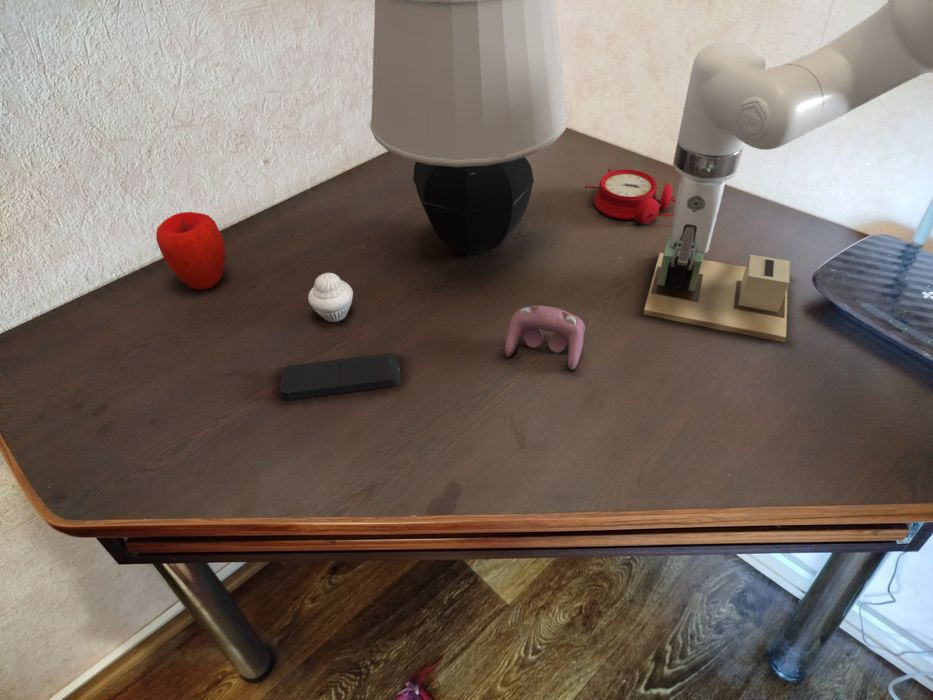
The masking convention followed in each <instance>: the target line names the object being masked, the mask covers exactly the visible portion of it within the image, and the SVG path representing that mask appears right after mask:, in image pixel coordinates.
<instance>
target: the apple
mask: <svg viewBox="0 0 933 700" xmlns="http://www.w3.org/2000/svg"><path fill="white" fill-rule="evenodd" d="M155 233H156V234H155V239H156V242H157V246H158V248H159V251H160V253H161V255H162V257H163V260H164V261H165V263H166V265H167V266H168V267H169V268H170V270H171V271H172V272H173V274H174V275H175V276H176V277H177V278H178V279H180V280H181V282H183V283H184V284H186V285H187V286H188V287H190V288H192V289H195V290H207V289H210V288H212V287H214V286H215V285H217V284H218V283H219V281H221V279H222V275H223V271H224V267H225V261H226V247H225V243H224V238H223V236H222V233H221V231H220V229H219V227H218V225H217V223H216V221H215V220H214V219H213V218H212V217H211V216H210V215H209V214H205V213H201V212H194V211H184V212H182V211H181V212H179V213H175V214H173V215H171V216H170V217H167V218H166V219H165V220H163V222H161V223H160V225H159V226H158V227H156V232H155Z"/></svg>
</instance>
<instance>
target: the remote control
mask: <svg viewBox="0 0 933 700" xmlns="http://www.w3.org/2000/svg"><path fill="white" fill-rule="evenodd" d="M400 366H401V365H400V362H399V359H398V357H397V354H395V353H394V352H387V353H379V354H370V355H364V356H356V357H348V358H347V357H346V358H340V359H332V360H331V359H330V360H324V361H317V362H316V361H315V362H308V363H301V364H292V365H288V366H285V367H284V368H283V369H282V371H281V379H280V387H279V388H280V397H281V399H282V400H284V401H293V400H299V399H300V400H302V399H307V398H315V397H323V396H331V395H332V396H333V395H339V394H346V393H354V392H355V393H356V392H361V391H362V392H363V391H368V390H376V389H384V388H385V389H386V388H392V387H395V386H398V385H400V383H401V380H402V379H401V369H400Z"/></svg>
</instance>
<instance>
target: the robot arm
mask: <svg viewBox="0 0 933 700" xmlns="http://www.w3.org/2000/svg"><path fill="white" fill-rule="evenodd" d="M929 73H931V74H933V0H887V2H885V3H884V4H883V5H882V6H881V7H880V8H878V9H877V10H876V11H875V12H874V13H872V14H871V15H870V16H868V17H866V18H865V19H864V20H862V21H861V22H859V23H857V24H856V25H855V26H853V27H851V28H850V29H849V30H847V31H845V32H844V33H842V34H840V35H839V36H837V37H836V38H834V39H833V40H830V41H829V42H828V43H826V44H825V45H822V46H821V47H819V48H818V49H816V50H814V51H812V52H810V53H808V54H805V55H802V56H801V57H797V58H795V59H794V60H791V61H788V62H786V63H783V64H782V65H779V66H775V67H774V66H773V67H768V68H766V59H765V56H764V54H763V53H762V51H760V50H759V49H758V48H756V47H754V46H751V45H749V44H745V43H740V42H733V41H732V42H717V43H711V44H708V45H706V46H705V47H703V48H701V49H700V50H699V51H698V52H697V54H696V55H695V57H694V60H693V64H692V67H691V72H690V76H689V81H688V86H687V91H686V97H685V101H684V106H683V111H682V117H681V121H680V126H679V132H678V137H677V142H676V147H675V152H674V157H673V162H672V167H673V170H675V172H676V173H677V174H679V175H680V177H679V183H678V188H677V192H676V197H675V201H676V202H674V208H673V213H674V215H672V224H671V232H670V235H671V239H670V246H671V247H672V248H673V249H674V252H673V257H672V261H671V262H669V266H668V271H667V275H666V280H665V284H664V286H665V287H666V288H670V289H675V290H680V291H688V289H689V285H690V281H691V277H692V273H693V269H694V266H693V262H694V258H695V254H696V251H698V253H702V254H703V255H705V254H708V252H709V250H710V245H711V241H712V237H713V233H714V229H715V226H716V222H717V218H718V216H719V215H718V214H719V210H720V206H721V203H722V199H723V194H724V191H725V190H724V189H725V185H726V181H728V180H730V179H733V177H735V176H736V175H737V172H738V168H739V166H740V161H741V159H742V154H743V151H744V147H745V145H747V146H750V147H751V148H754V149H758V150H762V151H763V150H765V151H766V150H767V151H768V150H774V149H778V148H781V147H782V146H783V147H784V146H785V145H787V144H789V143H791V142H793V141H794V140H797V139H799V138H801V137H803V136H805V135H806V134H808V133H811V132H812V131H814V130H816V129H818V128H821V127H822V126H824V125H827V124H828V123H830V122H833V121H834V120H837V119H839V118H841V117H843V116H844V115H847V114H848V113H850V112H852V111H854V110H855V109H857V108H859V107H861V106H863V105H866V104H867V103H869V102H871V101H873V100H875V99H877V98H879V97H881V96H883V95H884V94H886V93H888V92H891V91H892V90H894V89H896V88H898V87H900V86H902V85H904V84H906V83H908V82H909V81H912V80H914V79H916V78H918V77H920V76H922V75H925V74H929ZM679 240H681V241H682V243H679ZM692 242H693V243H695V245H692ZM678 250H680V253H679V256H677V253H678ZM690 252H691V256H690V258H689V254H690Z"/></svg>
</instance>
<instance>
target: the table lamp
mask: <svg viewBox="0 0 933 700" xmlns="http://www.w3.org/2000/svg"><path fill="white" fill-rule="evenodd" d="M373 19H374V21H373V23H374V25H373V50H372V51H373V52H372V91H371V92H372V95H371V97H372V98H371V117H370V119H371V120H370V124H369V128H370V131H371V133H372V135H373V137H374V140H375V141H376V142H377V143H378V144H379V145H381V146H382V147H383V148H384V149H385V150H386V151H387V152H390V153H391V154H394V155H396V156H398V157H401V158H402V159H405V160H409V161H413V162H415V163H414V166H413V179H412V181H413V182H414V185H415V188H416V189H415V190H416V193H417V195H418V198H419V202H420V203H421V206H422V208H423V211H424V212H425V214H426V216H427V218H428V221H429V223H430V225H431V228H432V230H433V231H434V233H435V235H436V236H437V237H438V239H439V240H440V242H442V243H444V244H445V245H446V246H448V247H450V248H451V249H454V250H457V251H460V252H463V253H466V254H471V255H476V254H481V253H487V252H490V251H493V250H495V249H496V248H498V247H499V246H500V245H501V244H502V243H503V242H504V241H505V240H506V238H508V236H509V235H510V234H511V233H512V231H514V229H516V227H517V226H518V225H519V223H520V222H521V220H522V218H523V216H524V214H525V212H526V209H527V207H528V205H529V202H530V198H531V195H532V189H533V184H534V183H535V180H534V173H533V168H532V165H531V163H530V162H529V160H528V159H527V158H526V157H528V156H531V155H534V154H537V153H538V152H541V151H542V150H543V149H546V148H547V147H549V146H551V145H553V144H554V143H555V142H556V141H557V140H558V139H559V138H560V137H561V136H562V134H563V133H564V132H565V130H566V129H567V126H568V123H569V119H570V114H569V111H568V104H567V97H566V89H565V80H564V79H565V78H564V70H563V60H562V59H563V58H562V52H561V41H560V34H559V24H558V16H557V9H556V0H374V18H373Z"/></svg>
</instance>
